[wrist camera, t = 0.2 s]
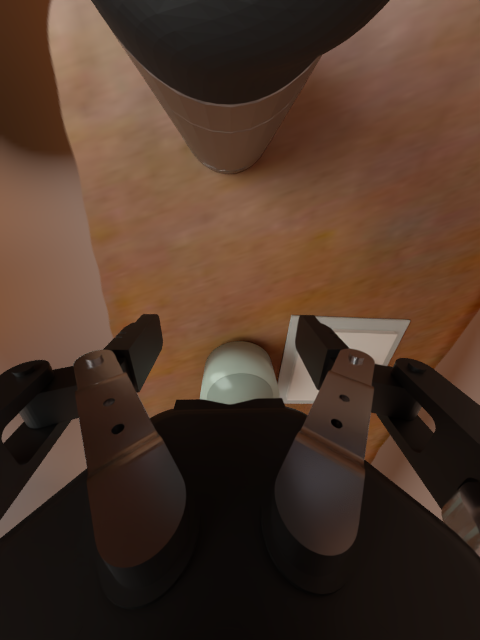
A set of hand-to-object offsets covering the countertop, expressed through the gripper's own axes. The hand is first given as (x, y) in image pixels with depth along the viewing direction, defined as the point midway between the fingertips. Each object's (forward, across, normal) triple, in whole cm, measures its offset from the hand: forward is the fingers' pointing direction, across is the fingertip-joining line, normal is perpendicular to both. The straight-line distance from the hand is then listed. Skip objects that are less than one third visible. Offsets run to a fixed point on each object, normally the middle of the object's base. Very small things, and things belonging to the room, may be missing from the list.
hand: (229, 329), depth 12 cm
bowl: (+18, -2, +16) cm, 24 cm away
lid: (+18, -18, +17) cm, 31 cm away
